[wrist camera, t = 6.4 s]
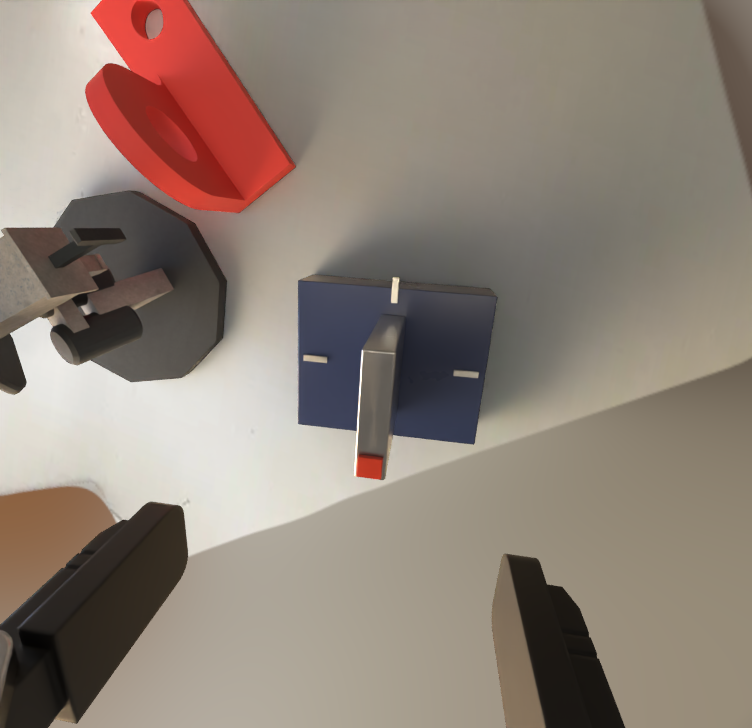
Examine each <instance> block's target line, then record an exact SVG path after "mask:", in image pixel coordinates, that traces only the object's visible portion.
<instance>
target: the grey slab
mask: <svg viewBox="0 0 752 728" xmlns="http://www.w3.org/2000/svg"><path fill="white" fill-rule="evenodd" d="M405 322H406V317H403V316H392V315H381V317H380V318H379V320H378V322H377V324H376V326H375V327H374V329H373V331H372V333H371V334H370V336H369V338H368V340H367V342H366V343H365V345H364V347H363V349H362V353H361V370H360V386H359V403H358V419H357V436H356V452H355V468H354V475H355V476H357V477H364V478H372V479H379V480H384V479H385V476H386V470H387V465H388V460H389V454H390V449H391V443H392V438H393V432H394V427H395V421H396V416H397V407H398V397H399V386H400V376H401V365H402V354H403V344H404V333H405Z"/></svg>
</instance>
